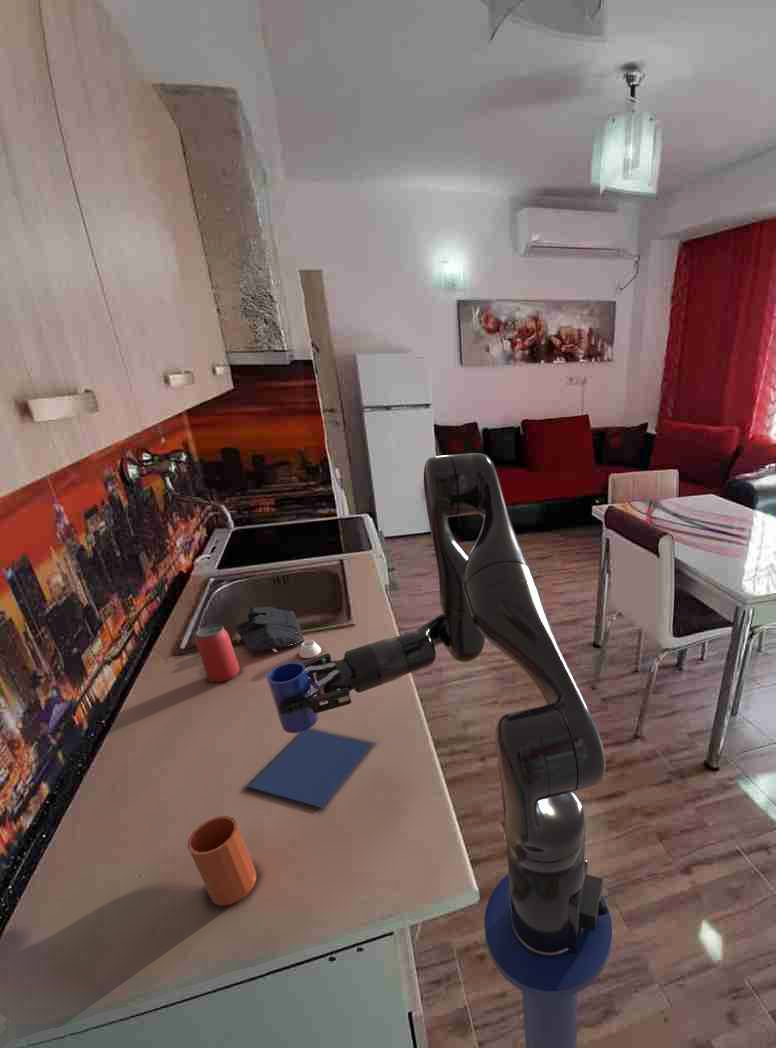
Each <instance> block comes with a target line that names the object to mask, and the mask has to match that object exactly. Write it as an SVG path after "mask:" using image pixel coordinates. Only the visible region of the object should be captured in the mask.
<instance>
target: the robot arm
mask: <svg viewBox="0 0 776 1048" xmlns="http://www.w3.org/2000/svg"><path fill="white" fill-rule="evenodd" d="M423 491H424V492H423V493H424V498H425V505H426V511H427V517H428V523H429V524H428V525H429V531H430V535H431V541H432V546H433V552H434V555H435V560H436V566H437V574H438V575H437V576H438V592H439V606H440V610H441V612H442V613H441V614H439V615H438V616H436V617H434V618H432V619H431V620H429V621H428V622H426V623H424V624H423V625H422V626H421V627H419V628H417V629H416V630H413V631H410V632H407V633H404V634H401V635H398V636H395V637H391V638H385V639H381V640H377V641H375V642H372V643H367V644H364V645H362V646H359V647H355V648H353V649H350V650H347V651H345V652H344V654H343V658H342V659H338V660H333V659H332V657H331V654H330V653H324V654H322V655H318V656H317V657H313V658H312V659H309V660H306V661H304V662H301V663H302V664H303V665H304V666H305V668H306V671H307V675H308V679H309V683H310V686H311V690H309V691H308V692H306V693H305V694H304V696H303V695H302V694H300V695H297V696H294V697H291V698H288V699H285V700H282V701H280V702H279V703H278V705H279V708H280V711H281V714H283V715H285V714H288V713H292V712H294V711H297V710H300V709H303V708H306V707H307V708H308V709H312V710H313V712H314V713H318V714H320V713H322V712H326V711H330V710H333V709H337V708H341V707H344V706H348V705H350V704H352V696H351V692H352V691H353V690H354V691H355V692H356V693H358V694H360V693H363V692H366V691H369V690H371V689H375V688H377V687H380V686H383V685H385V684H388V683H391V682H394V681H396V680H398V679H400V678H402V677H404V676H406V675H409V674H412V673H414V672H417V671H420V670H423V669H425V668H428V667H430V666H432V665H433V664H434V663H435V661H436V659H437V652H436V647H437V646H438V645H441V644H442V645H443V646H444V647H445V649H446V650H447V652H448V653H449V655H450V656H451V657H452V658H453V659H454V660H456V661H458V662H461V663H469V662H472V661H474V660H475V659H477V658H478V657H479V656H480V655H481V653H482V651H483V650H484V647H485V644H486V643H485V642H486V640H487V641H488V642H490V643H491V644H492V645H493V646H494V647H495V648H496V649H497V650H499V651H500V652H501V653H503V654H504V655H505V656H507V657H508V658H509V659H511V661H513V662H514V663H516V665H517V666H519V667H520V668H521V669H522V671H524V672H525V673H526V675H528V676H529V678H530V679H531V680H532V681H533V682H534V684H535V686H536V687H537V688H538V690H539V691H540V693H541V695H542V697H543V699H544V700H545V703H546V704H544V705H539V706H534V707H530V708H525V709H522V710H517V711H512V712H509V713H506V714H504V715H501V717H500V718H499V719H498V721H497V723H496V726H495V731H494V732H495V733H494V744H495V754H496V760H497V766H498V767H497V768H498V772H499V779H500V788H501V796H502V797H501V798H502V808H503V815H504V829H505V839H506V840H505V842H506V855H507V869H508V874H509V885H510V896H509V899H510V898H511V903H510V906H511V921H512V928H513V931H514V934H515V936H516V938H517V940H518V941H519V943H520V944H521V945H522V946H523V947H524V948H525V949H526V950H527V951H529V952H530V953H532V954H534V955H537V956H540V957H544V958H555V957H559V956H562V955H565V954H567V953H573V954H578V951H579V946H580V941H581V937H582V934H583V930H584V928H585V929H588V930H591V931H595V930H596V925H597V919H598V916H600V915H605V914H607V912H608V908H609V906H608V907H607V906H606V905H605V904H604V903H602V902H601V897H602V895H603V885H604V884H603V881H604V878H601V877H598V876H595V875H592V874H591V875H590V874H589V861H588V859H585V858H586V857H585V855H586V851H585V849H586V848H585V847H586V812H585V809H584V806H583V804H582V801H581V800H580V798H579V797H578V795H577V794H576V793H575V792H577V791H581V790H584V789H588V788H590V787H594V786H595V785H599V783H601V782H602V781H603V779H604V777H605V775H606V770H607V767H606V766H607V763H606V753H605V749H604V745H603V741H602V739H601V735H600V732H599V729H598V727H597V725H596V722H595V720H594V718H593V715H592V713H591V711H590V708H589V707H588V705H587V702H586V700H585V698H584V696H583V694H582V692H581V690H580V688H579V685H578V683H577V682H576V679H575V677H574V676H573V673H572V671H571V669H570V667H569V665H568V663H567V661H566V659H565V657H564V654H563V653H562V649H561V648H560V646H559V644H558V641H557V639H556V635H555V633H554V631H553V628H552V625H551V623H550V620H549V617H548V614H547V611H546V608H545V605H544V602H543V600H542V597H541V593H540V591H539V588H538V585H537V583H536V581H535V578H534V575H533V572H532V570H531V567H530V565H529V563H528V561H527V558H526V556H525V554H524V551H523V550H522V546H521V545H520V542H519V539H518V537H517V534H516V531H515V528H514V526H513V523H512V520H511V517H510V514H509V511H508V510H509V509H508V505H507V503H506V499H505V496H504V492H503V488H502V485H501V481H500V478H499V475H498V472H497V469H496V467H495V464H494V462H493V461H492V459H491V458H490V457H489V456H488V455H487V454H486V453H485V454H484V453H479V452H467V453H455V454H445V455H436V456H431V457H429V458H428V459H427V460H426V462H425V464H424V468H423ZM470 515H480V516H482V519H483V522H482V526H481V529H480V531H479V535H478V537H477V539H476V541H475V542H474V545H473V547H472V549H471V551H470V553H469V554H468V553H467V551H466V550H465V549H464V548H463V546H461V544H460V543H459V542H458V540H457V539H456V536H454V533H453V532H452V530H451V526H450V522H449V518H452V517H461V516H462V517H463V516H470ZM326 702H327V703H326ZM322 703H323V704H322ZM508 893H509V890H508Z"/></svg>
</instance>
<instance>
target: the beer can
mask: <svg viewBox="0 0 776 1048" xmlns="http://www.w3.org/2000/svg"><path fill="white" fill-rule="evenodd" d="M195 636H196V637H195V644H196V645H195V646H196V647H197V650H198V653H199V655H200V658H201V662H202V664H203V667H204V670H205V672H206V675H207V678H208V680H209V681H211V682H213V683H223V682H226V681H229V680H231V679H233V678H235V677H236V676H238V674H239V673H240V668H241V667H240V665H239V661H238V660H237V659H238V658H237V656H236V653H235V650H234V647H233V643H232V641H231V638H230V634H229V633H228V631H227V630H226V629H225V628H224V626H223V624H210V625H206V626H203V627H201V628H200V629H198V630H197V631H196V632H195Z"/></svg>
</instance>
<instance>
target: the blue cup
mask: <svg viewBox="0 0 776 1048" xmlns="http://www.w3.org/2000/svg"><path fill="white" fill-rule="evenodd" d="M302 663H303V662H298V661H297V662H296V661H295V662H287V663H283V664H280V665H278V666H276V667H274V668H273V669H271V670H270V671H269V673H268V674H267V676H266V680H267V683H268V687H269V690H270V692H271V696H272V699H273V703H274V706H275V709H276V713H277V716H278V718H279V722H280V725H281V727H282V730H283V731H284V732H286V733H288V734H298V733H302V732H303V731H305V730H307V729H309V730H310V729H311V728H312V727H314V726H315V725H316V724H317V722H318V720H319V713H314V712H313V710H312V709H308V708H307V707H306V708H303V709H300V710H297V711H294V712H292V713H288V714H285V715H283V714H281V711H280V708H279V705H278V703H279V702H280V701H282V700H285V699H288V698H291V697H294V696H297V695H300V694H302V695H303V696H304V694H305V693H306V692H308V691H309V690H311V689H312V685H310V683H309V679H310V678H309V677H308V675H307V671H306V669H307V668H305V666H304V665H303V664H302Z"/></svg>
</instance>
